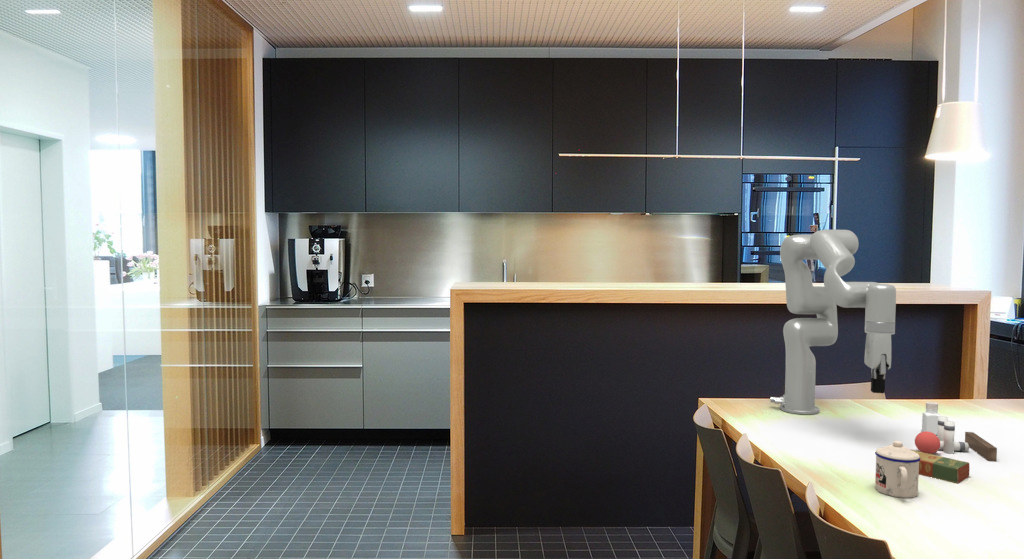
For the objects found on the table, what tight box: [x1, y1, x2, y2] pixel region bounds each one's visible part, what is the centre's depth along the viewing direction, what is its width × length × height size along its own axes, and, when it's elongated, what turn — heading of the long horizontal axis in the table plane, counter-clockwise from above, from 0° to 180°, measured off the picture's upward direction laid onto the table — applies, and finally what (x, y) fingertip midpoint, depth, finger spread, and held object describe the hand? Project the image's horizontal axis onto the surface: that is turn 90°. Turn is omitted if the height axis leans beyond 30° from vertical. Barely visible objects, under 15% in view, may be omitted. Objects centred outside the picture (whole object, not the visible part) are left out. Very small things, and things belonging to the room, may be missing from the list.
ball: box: [914, 431, 940, 455], centre depth 189 cm, size 6×6×6 cm
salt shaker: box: [921, 401, 941, 435], centre depth 209 cm, size 4×4×10 cm
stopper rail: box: [964, 431, 998, 462], centre depth 191 cm, size 2×16×4 cm, turn 166°
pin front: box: [938, 441, 970, 452], centre depth 192 cm, size 2×2×8 cm
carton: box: [908, 448, 970, 485], centre depth 174 cm, size 8×16×4 cm, turn 40°
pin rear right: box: [942, 420, 956, 455], centre depth 190 cm, size 2×2×8 cm
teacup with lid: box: [874, 440, 920, 499], centre depth 159 cm, size 12×9×12 cm
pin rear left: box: [937, 415, 949, 441], centre depth 195 cm, size 2×2×8 cm
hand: (877, 392), depth 196 cm, fingers closed
